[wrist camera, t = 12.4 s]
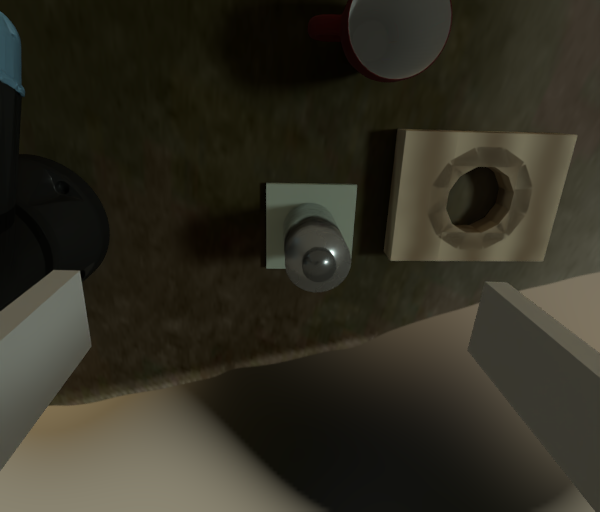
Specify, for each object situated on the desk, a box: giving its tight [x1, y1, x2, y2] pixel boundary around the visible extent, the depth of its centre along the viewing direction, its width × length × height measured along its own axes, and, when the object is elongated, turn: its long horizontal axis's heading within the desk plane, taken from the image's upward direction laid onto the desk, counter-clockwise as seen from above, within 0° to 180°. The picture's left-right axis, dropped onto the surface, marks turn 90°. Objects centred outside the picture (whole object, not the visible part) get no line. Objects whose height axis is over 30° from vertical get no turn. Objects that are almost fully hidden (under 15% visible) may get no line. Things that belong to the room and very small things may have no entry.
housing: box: [384, 129, 577, 261], centre depth 44 cm, size 18×14×3 cm
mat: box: [266, 183, 357, 269], centre depth 45 cm, size 10×10×1 cm
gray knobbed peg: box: [283, 203, 351, 292], centre depth 40 cm, size 6×6×11 cm
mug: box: [308, 0, 452, 82], centre depth 34 cm, size 11×8×10 cm
